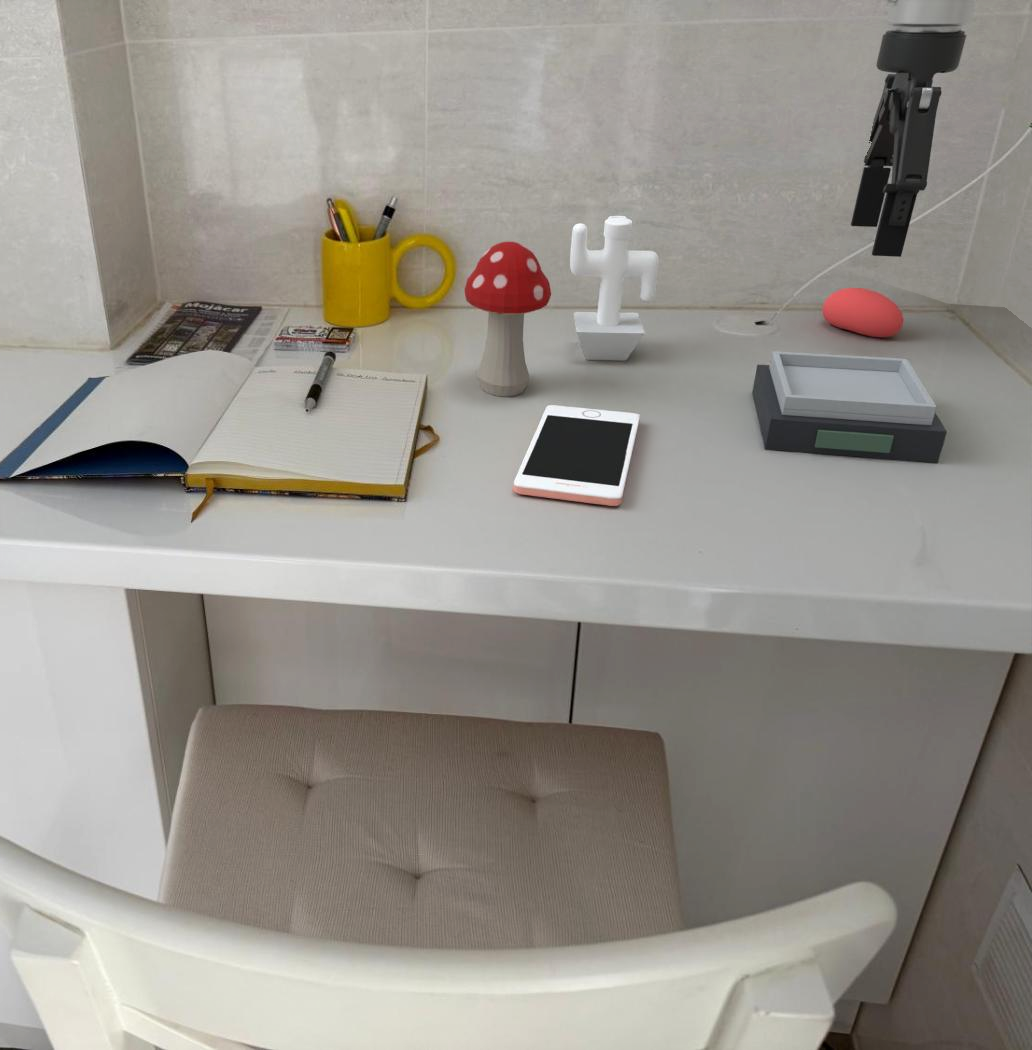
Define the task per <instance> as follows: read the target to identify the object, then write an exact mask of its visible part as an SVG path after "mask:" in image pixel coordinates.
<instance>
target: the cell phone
mask: <svg viewBox="0 0 1032 1050" xmlns="http://www.w3.org/2000/svg"><path fill="white" fill-rule="evenodd" d="M640 419H641V415H640V414H639V413H635V412H628V411H627V412H626V411H618V410H617V411H616V410H606V409H598V408H597V409H596V408H587V407H578V406H577V407H576V406H565V405H557V404H556V405H554V404H550V405H547V406H546V408H545V409H544V412H543V414H542V417H541V418H540V421H539V423H538V426H537V427H536V430H535V432H534V434H533V436H532V439H531V442H530V444H529V446H528V448H527V451H526V453H525V455H524V457H523V460H522V462H521V463H520V467H519V469H518V471H517V474H516V476H515V478H514V481H513V486H512V487H513V488H512V489H513V492H514V493H515V494H518V495H523V496H531V497H539V498H548V499H555V500H562V501H571V502H578V503H585V504H586V503H587V504H594V505H603V506H608V507H609V506H610V507H617V506H620V505H621V503H622V501H623V495H624V491H625V487H626V484H627V483H626V482H627V478H628V474H629V470H630V466H631V461H632V456H633V452H634V448H635V443H636V438H637V433H638V429H639V424H640Z"/></svg>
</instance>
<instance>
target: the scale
mask: <svg viewBox="0 0 1032 1050" xmlns="http://www.w3.org/2000/svg"><path fill="white" fill-rule="evenodd" d="M751 392H752V397H753V402H754V405H755V406H754V407H755V410H756V415H757V419H758V424H759V428H760V433H761V437H762V442H763V446H764V450H772V451H782V452H795V453H796V452H797V453H798V452H799V453H806V454H807V453H809V454H818V455H819V454H822V455H833V456H843V457H844V456H846V457H858V458H871V459H883V460H896V461H906V462H907V461H910V462H919V463H920V462H922V463H933V464H938V463H939V460H940V456H941V453H942V449H943V447H944V444H945V440H946V436H947V433H948V431H947V429H946V428H945V426H944V424H943V423H942V421H941V419H940V418H939V416H938V415H937V412H936V410H937V405H936V403H935V401H934V400H933V398H932V397H931V395H930V394H929V392H928V390H927V389H926V387H925V385H924V383H923V382H922V381H921V379H920V377H919V376H918V374H917V373H916V371H915V369H914V367H913V366H912V364H911V363H910V361H909V360H908V358H900V357H899V358H898V357H883V356H882V357H881V356H864V355H863V356H862V355H847V354H845V355H843V354H829V353H827V354H826V353H813V352H812V353H808V352H792V351H789V352H788V351H774V350H773V351H772V352H771V356H770V362H769V364H756V369H755V375H754V380H753V385H752V391H751Z"/></svg>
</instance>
